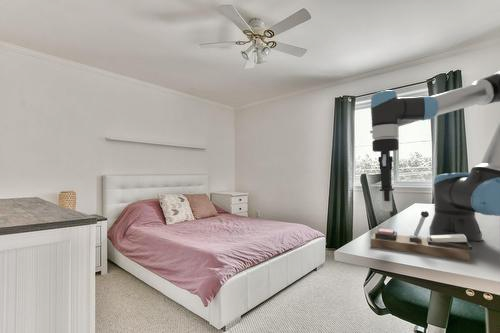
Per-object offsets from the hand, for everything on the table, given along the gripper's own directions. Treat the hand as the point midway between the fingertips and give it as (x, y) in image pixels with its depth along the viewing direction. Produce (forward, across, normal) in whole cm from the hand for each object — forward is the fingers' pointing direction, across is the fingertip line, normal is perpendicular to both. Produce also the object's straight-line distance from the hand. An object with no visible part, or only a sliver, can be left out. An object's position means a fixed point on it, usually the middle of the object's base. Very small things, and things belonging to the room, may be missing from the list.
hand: (387, 210), depth 82 cm
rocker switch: (+7, 0, +15) cm, 17 cm away
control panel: (+11, 0, +7) cm, 13 cm away
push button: (+8, 0, -1) cm, 8 cm away
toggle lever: (+7, 0, +7) cm, 10 cm away
